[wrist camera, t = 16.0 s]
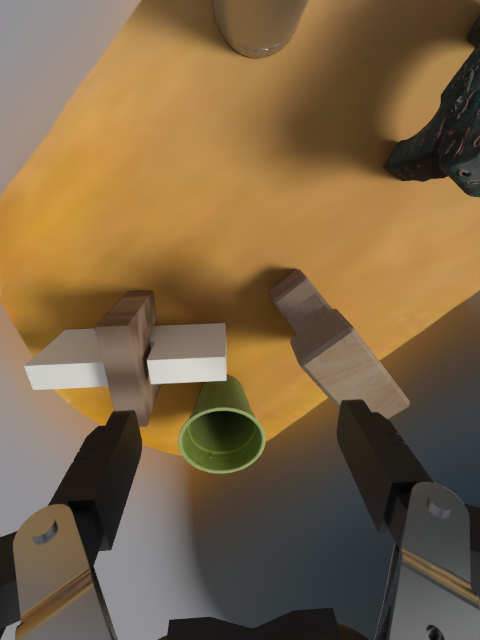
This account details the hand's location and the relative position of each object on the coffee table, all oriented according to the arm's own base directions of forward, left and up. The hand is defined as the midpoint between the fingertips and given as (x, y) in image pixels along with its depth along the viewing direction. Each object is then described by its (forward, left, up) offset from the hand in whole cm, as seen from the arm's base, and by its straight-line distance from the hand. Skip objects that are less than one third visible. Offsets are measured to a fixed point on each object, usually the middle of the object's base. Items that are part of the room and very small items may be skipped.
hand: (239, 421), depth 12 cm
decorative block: (+8, +11, -32) cm, 35 cm away
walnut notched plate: (+12, -13, -32) cm, 37 cm away
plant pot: (+23, -2, -32) cm, 40 cm away
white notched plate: (+12, -13, -32) cm, 37 cm away
